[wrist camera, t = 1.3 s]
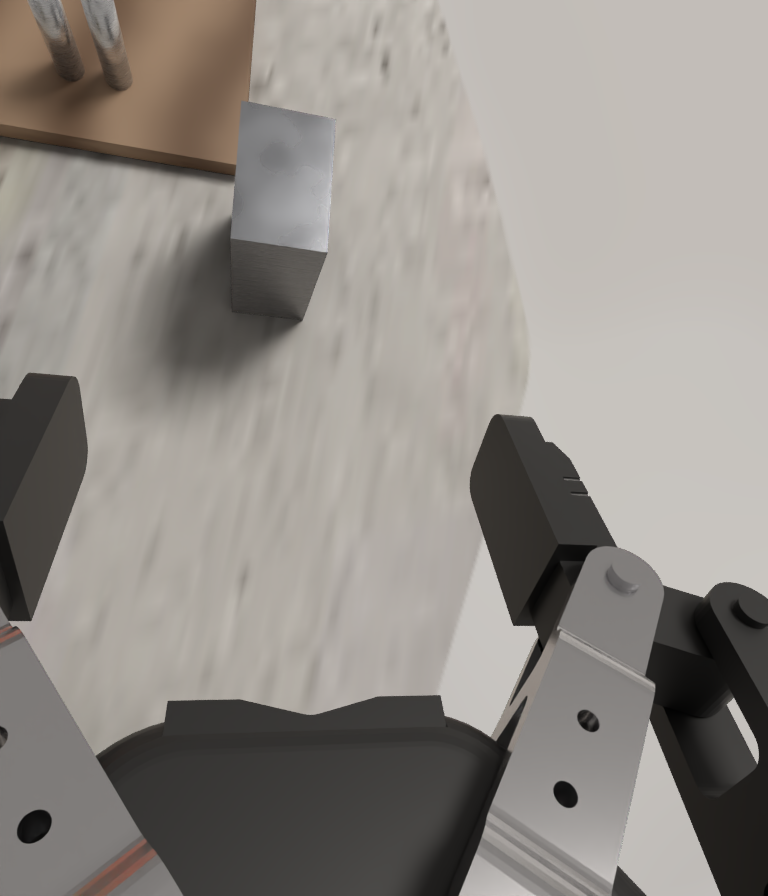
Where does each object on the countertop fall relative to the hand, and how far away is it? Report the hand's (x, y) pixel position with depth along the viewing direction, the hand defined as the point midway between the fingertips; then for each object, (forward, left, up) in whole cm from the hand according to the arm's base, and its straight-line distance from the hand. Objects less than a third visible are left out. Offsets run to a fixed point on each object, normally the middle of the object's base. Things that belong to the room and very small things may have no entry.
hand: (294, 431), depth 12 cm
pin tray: (-10, +26, -23) cm, 36 cm away
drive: (0, +12, -23) cm, 26 cm away
